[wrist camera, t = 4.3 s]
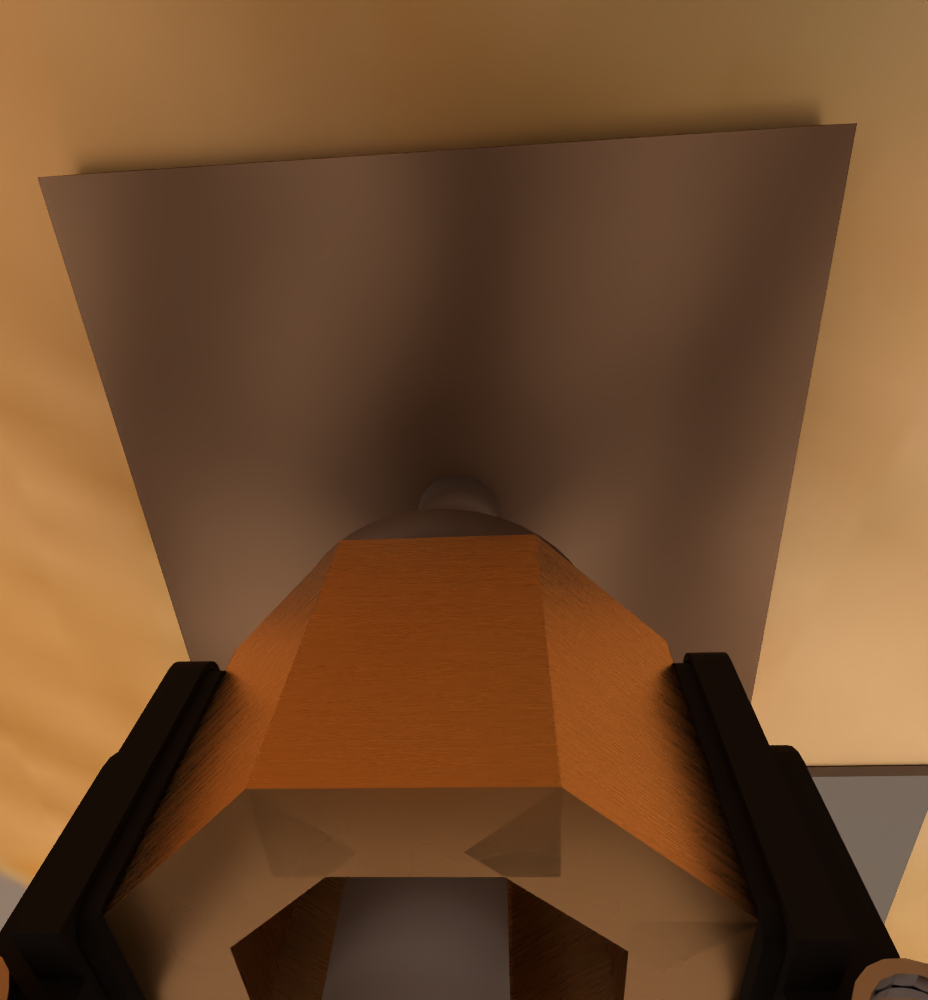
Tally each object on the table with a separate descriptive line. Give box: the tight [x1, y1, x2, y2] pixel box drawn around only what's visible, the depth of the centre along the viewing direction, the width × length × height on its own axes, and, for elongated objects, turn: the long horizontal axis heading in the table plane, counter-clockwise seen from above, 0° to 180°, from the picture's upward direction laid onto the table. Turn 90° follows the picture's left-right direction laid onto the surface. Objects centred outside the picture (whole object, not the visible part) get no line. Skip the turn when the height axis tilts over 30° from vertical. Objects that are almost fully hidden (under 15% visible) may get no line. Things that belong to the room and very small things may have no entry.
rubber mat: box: [807, 766, 928, 923], centre depth 26 cm, size 14×12×1 cm
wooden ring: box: [103, 534, 758, 1000], centre depth 9 cm, size 6×6×4 cm
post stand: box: [38, 123, 857, 1000], centre depth 13 cm, size 16×16×13 cm
